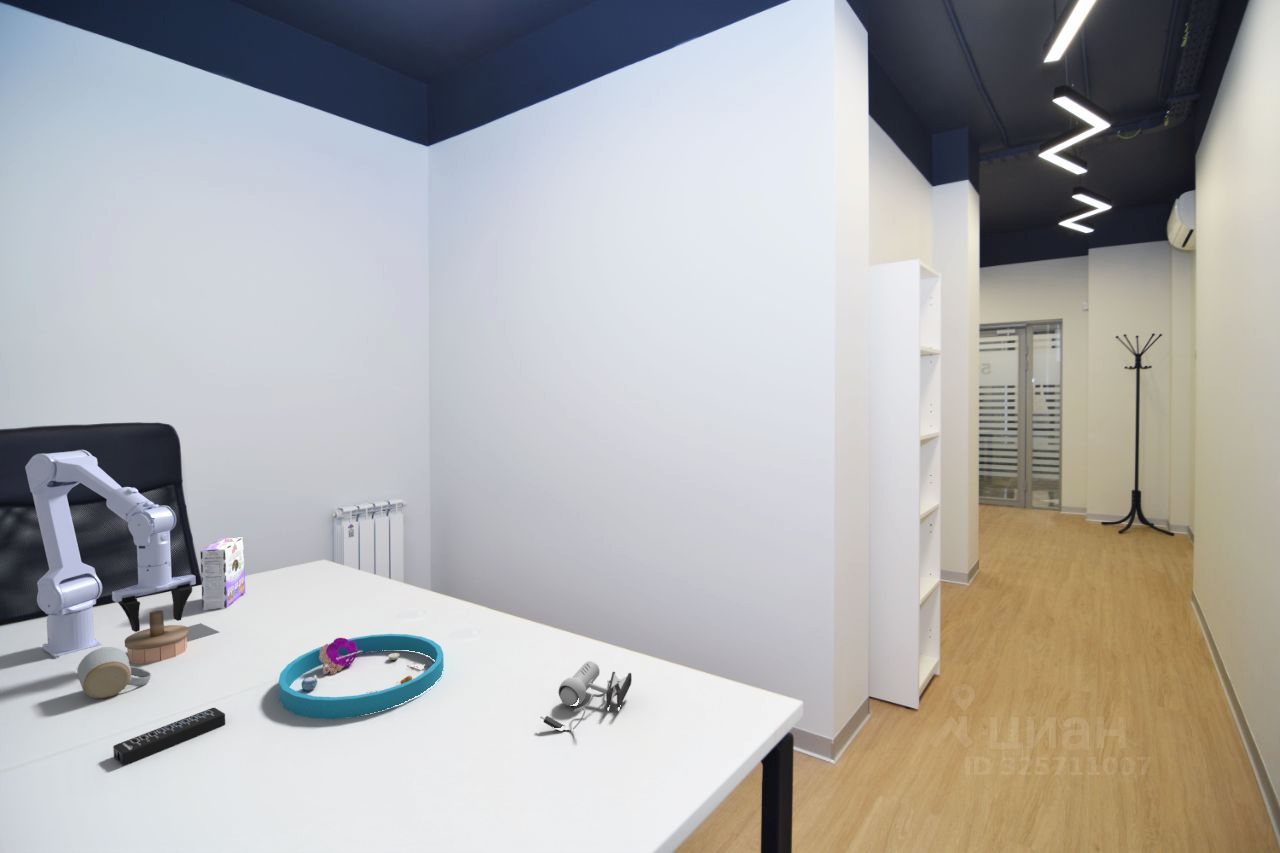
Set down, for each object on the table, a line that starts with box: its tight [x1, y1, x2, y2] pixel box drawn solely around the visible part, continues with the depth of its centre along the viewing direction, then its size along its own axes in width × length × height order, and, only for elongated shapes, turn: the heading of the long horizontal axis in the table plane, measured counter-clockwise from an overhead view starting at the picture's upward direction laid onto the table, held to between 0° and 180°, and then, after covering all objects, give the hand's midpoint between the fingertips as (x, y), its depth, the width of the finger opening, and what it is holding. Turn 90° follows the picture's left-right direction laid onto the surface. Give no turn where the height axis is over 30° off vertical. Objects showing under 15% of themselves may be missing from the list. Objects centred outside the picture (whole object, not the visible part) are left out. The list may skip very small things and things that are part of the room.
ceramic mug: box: [76, 646, 152, 699], centre depth 121 cm, size 11×8×8 cm
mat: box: [186, 622, 220, 643], centre depth 148 cm, size 10×10×1 cm
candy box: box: [200, 536, 246, 611], centre depth 170 cm, size 14×6×16 cm, turn 14°
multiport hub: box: [112, 707, 226, 767], centre depth 104 cm, size 4×14×2 cm, turn 147°
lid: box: [124, 609, 188, 650], centre depth 137 cm, size 11×11×6 cm
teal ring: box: [278, 633, 445, 720], centre depth 126 cm, size 30×30×6 cm
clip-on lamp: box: [539, 660, 632, 730], centre depth 114 cm, size 12×6×18 cm
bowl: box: [126, 637, 188, 665], centre depth 137 cm, size 10×10×4 cm
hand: (157, 624), depth 137 cm, fingers open, 7 cm apart
